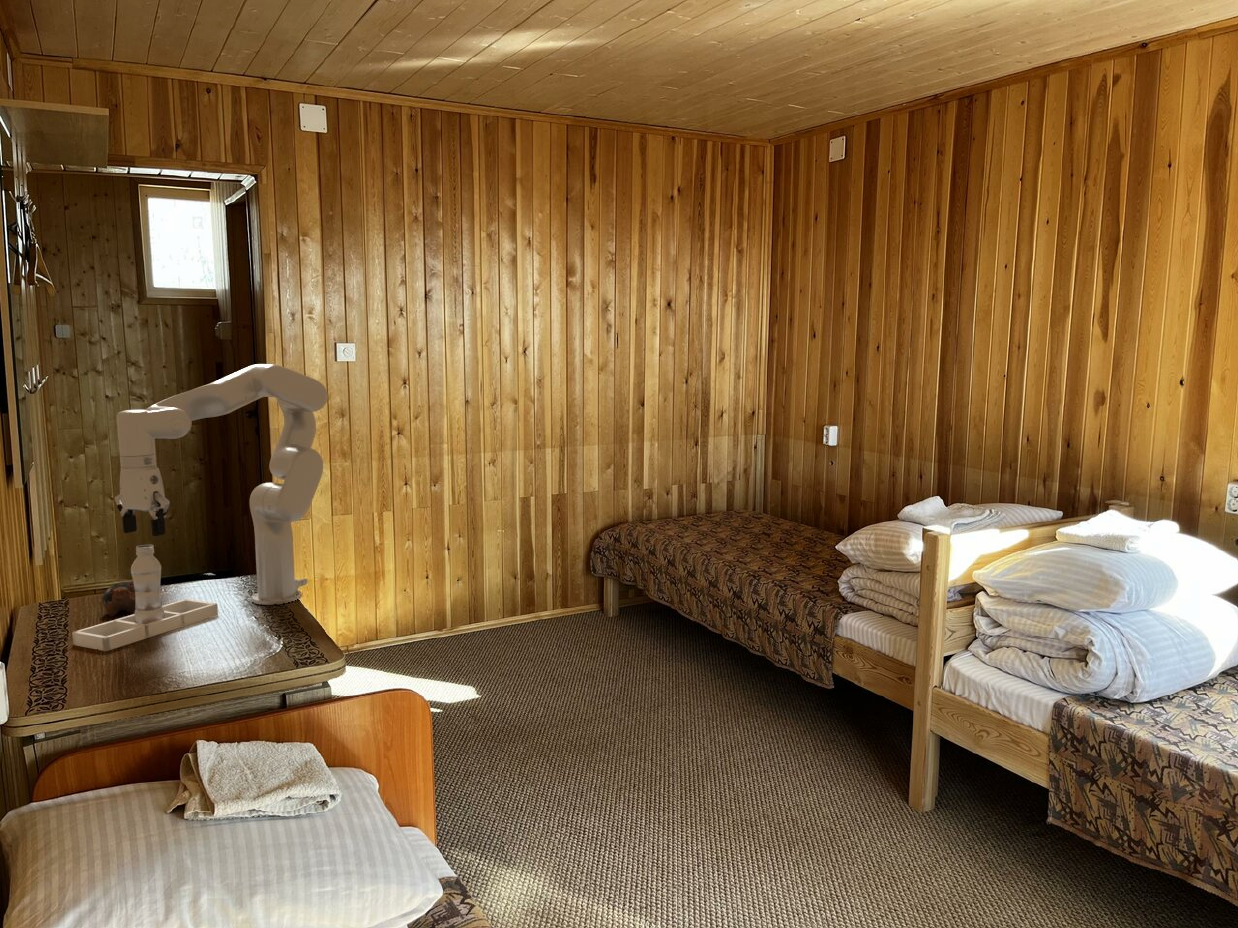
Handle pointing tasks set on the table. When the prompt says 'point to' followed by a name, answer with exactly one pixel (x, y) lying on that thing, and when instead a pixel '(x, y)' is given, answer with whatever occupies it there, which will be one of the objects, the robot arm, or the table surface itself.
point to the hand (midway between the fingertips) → (144, 533)
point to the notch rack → (143, 625)
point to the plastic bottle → (147, 586)
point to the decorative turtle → (119, 598)
